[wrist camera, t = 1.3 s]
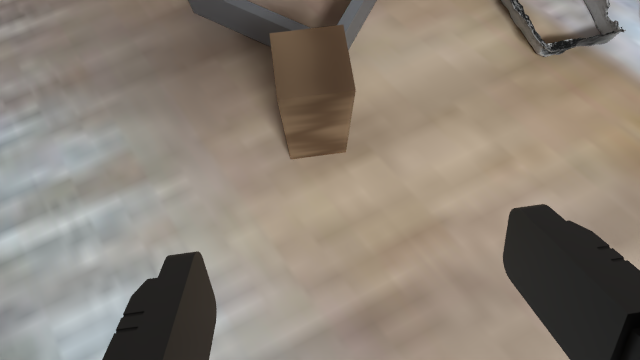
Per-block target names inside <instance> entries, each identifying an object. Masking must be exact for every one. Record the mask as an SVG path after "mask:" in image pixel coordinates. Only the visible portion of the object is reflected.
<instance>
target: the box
mask: <svg viewBox="0 0 640 360" xmlns="http://www.w3.org/2000/svg"><path fill="white" fill-rule="evenodd" d="M188 1H189V3H190V5H191V7H192V10H193V12H194V13H196V14H198V15H201V16H203V17H205V18H207V19H210V20H212V21H214V22H216V23H219V24H221V25H223V26H225V27H228V28H230V29H232V30H234V31H237V32H239V33H241V34H243V35H246V36H248V37H250V38H252V39H254V40H257V41H259V42H261V43H263V44H266V45H268V46H270V47H271V43H270V34H269V33H277V32H285V31H293V30H302V29H310V27H307V26H305V25H303V24H300V23H298V22H296V21H293V20H291V19H289V18H286V17H284V16H282V15H279V14H277V13H275V12H272V11H270V10H268V9H265V8H263V7H261V6H258V5H256V4H254V3H252V2H249V1H247V0H188ZM376 1H377V0H352V1H351V2H350V4H349V6H348V7H347V9H346V11H345V12H344V14H343V16H342V17H341V19H340V21H339V23H338V24H337V25H344V30H345V36H346V41H347V47H348V50H349V48H350V46H351V44H352V43H353V41H354V39H355V37H356V36H357V34H358V32H359V30H360V29H361V27H362V25H363V23H364V22H365V20H366V18H367V16H368V15H369V13H370V11H371V9H372V8H373V6H374V4H375V2H376Z"/></svg>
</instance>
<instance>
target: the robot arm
mask: <svg viewBox="0 0 640 360" xmlns="http://www.w3.org/2000/svg"><path fill="white" fill-rule="evenodd" d="M503 263H504V268H505V271H506V273H507V276H508V277H509V279H510V280H511V282H512V283H513V284H514V286H515V287H516V288H517V290H518V291H519V292H520V294H521V295H522V296H523V298H524V299H525V300H526V302H527V303H528V304H529V306H530V307H531V308H532V310H533V311H534V312H535V314H536V315H537V316H538V318H539V319H540V320H541V322H542V323H543V324H544V326H545V327H546V328H547V329H548V331H549V332H550V333H551V335H552V336H553V337H554V339H555V340H556V341H557V343H558V344H559V345H560V347H561V348H562V349H563V351H564V352H565V353H566V355H567V356H568V357H569V359H570V360H640V270H638V269H637V268H636V267H635V266H634V265H632V264H631V263H630V262H629V261H628V260H627V261H625V260H624V257H623V256H621V255H620V254H619V253H618V252H617V251H615V250H614V249H613V248H612V249H610V247H609V245H608V244H607V243H606V242H604V241H603V240H602V239H601V238H600V237H598V236H597V235H596V234H595V233H593V232H592V231H590V230H588V229H586V228H584V227H582V226H580V225H578V224H576V223H574V222H572V221H565V220H564V219H563V218H562V217H561V216H559V215H558V214H557V213H556V212H555V211H554V210H553V209H551V208H550V207H549V206H547V205H544V204H541V205H534V206H527V207H520V208H514V209H512V210H511V212H510V214H509V220H508V226H507V233H506V239H505V246H504V252H503ZM123 315H124V317H123V318H121V320H120V322H119V325H118V327H117V329H116V333H115V334H114V335H113V338H112V340H111V342H110V344H109V346H108V348H107V351H106V353H105V355H104V357H103V359H102V360H209V356H210V351H211V345H212V340H213V334H214V329H215V323H216V301H215V296H214V292H213V289H212V286H211V283H210V280H209V277H208V273H207V270H206V267H205V264H204V261H203V258H202V255H201V254H200V252H191V253H183V254H176V255H169V256H167V257H166V259H165V261H164V264H163V266H162V269H161V271H160V274H159V276H158V278H152V279H147V280H146V281H145V282H144V283H143V284H142V285H141V286H140V288H139V289H138V290H137V291H136V292H135V293H134V294H133V295H132V296H131V298H130V301H129V303H128V305H127V307H126V309H125V311H124V314H123Z"/></svg>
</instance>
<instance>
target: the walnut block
mask: <svg viewBox="0 0 640 360" xmlns="http://www.w3.org/2000/svg"><path fill="white" fill-rule="evenodd" d="M269 34H270V43H271V51H272V60H273V68H274V77H275V85H276V94H277V101H278V105H279V110H280V114H281V118H282V123H283V127H284V132H285V136H286V140H287V145H288V149H289V153H290V158H291V159H297V158H305V157H312V156H320V155H327V154H335V153H343V152H346V147H347V141H348V135H349V128H350V122H351V116H352V109H353V103H354V96H355V85H354V79H353V74H352V68H351V63H350V57H349V52H348V47H347V41H346V36H345V30H344V25H335V26H327V27H318V28H310V29H302V30H293V31H285V32H277V33H269Z"/></svg>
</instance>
